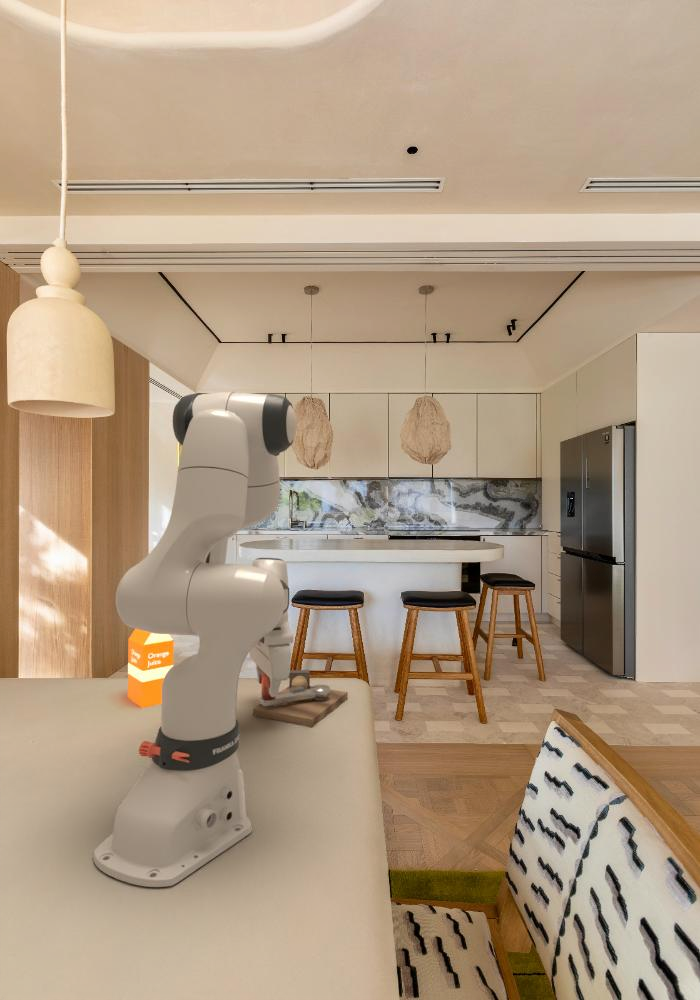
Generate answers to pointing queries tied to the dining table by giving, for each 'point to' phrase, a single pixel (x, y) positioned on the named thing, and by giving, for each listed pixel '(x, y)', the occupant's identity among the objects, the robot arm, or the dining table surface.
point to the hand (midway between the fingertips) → (267, 689)
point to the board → (302, 705)
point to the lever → (291, 693)
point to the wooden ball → (299, 682)
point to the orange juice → (148, 666)
